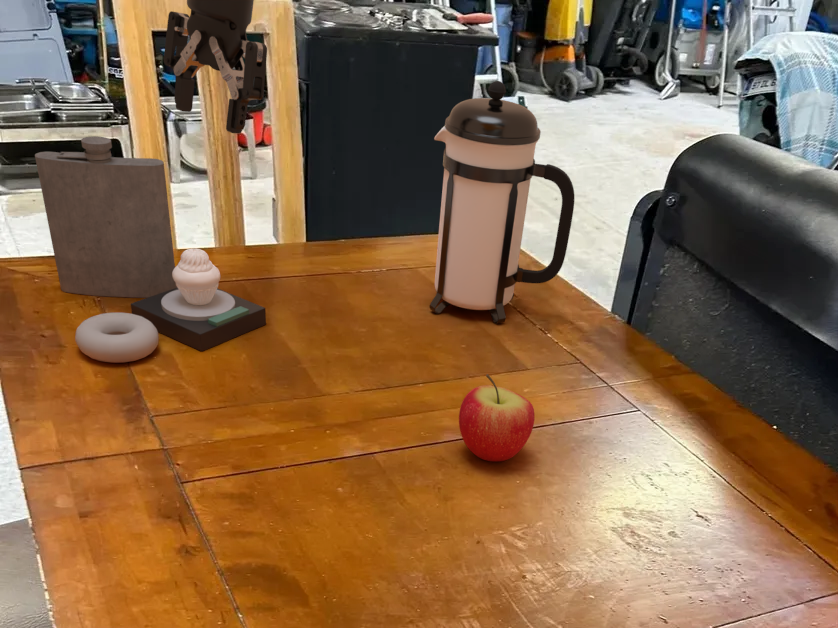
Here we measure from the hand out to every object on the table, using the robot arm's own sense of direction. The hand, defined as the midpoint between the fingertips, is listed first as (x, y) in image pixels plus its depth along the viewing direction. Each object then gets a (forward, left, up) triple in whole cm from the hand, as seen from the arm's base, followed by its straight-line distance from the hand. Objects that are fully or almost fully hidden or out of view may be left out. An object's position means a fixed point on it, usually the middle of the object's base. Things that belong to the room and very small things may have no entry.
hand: (208, 121), depth 112 cm
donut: (+3, -21, -23) cm, 31 cm away
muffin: (+4, -8, -20) cm, 22 cm away
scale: (+4, -8, -23) cm, 25 cm away
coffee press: (+28, +26, -23) cm, 45 cm away
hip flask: (-11, -9, -23) cm, 27 cm away
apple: (+52, -9, -23) cm, 57 cm away
